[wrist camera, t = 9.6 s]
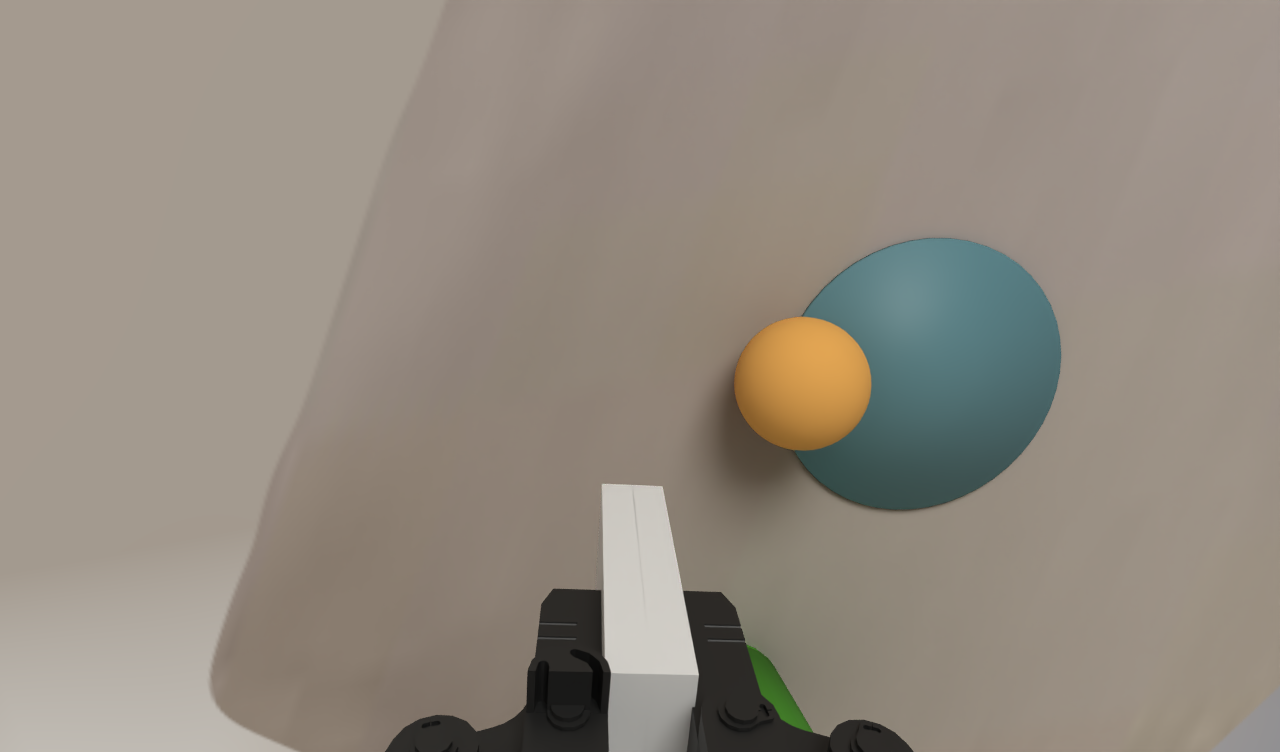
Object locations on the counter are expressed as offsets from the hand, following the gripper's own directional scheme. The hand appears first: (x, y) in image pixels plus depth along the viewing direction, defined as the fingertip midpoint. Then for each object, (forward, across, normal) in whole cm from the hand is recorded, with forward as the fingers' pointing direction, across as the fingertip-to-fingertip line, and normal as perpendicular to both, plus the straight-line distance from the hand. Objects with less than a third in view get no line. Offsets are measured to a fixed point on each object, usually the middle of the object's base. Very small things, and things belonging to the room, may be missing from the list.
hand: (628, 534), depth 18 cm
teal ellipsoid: (+14, +14, 0) cm, 20 cm away
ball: (+12, +8, 0) cm, 14 cm away
